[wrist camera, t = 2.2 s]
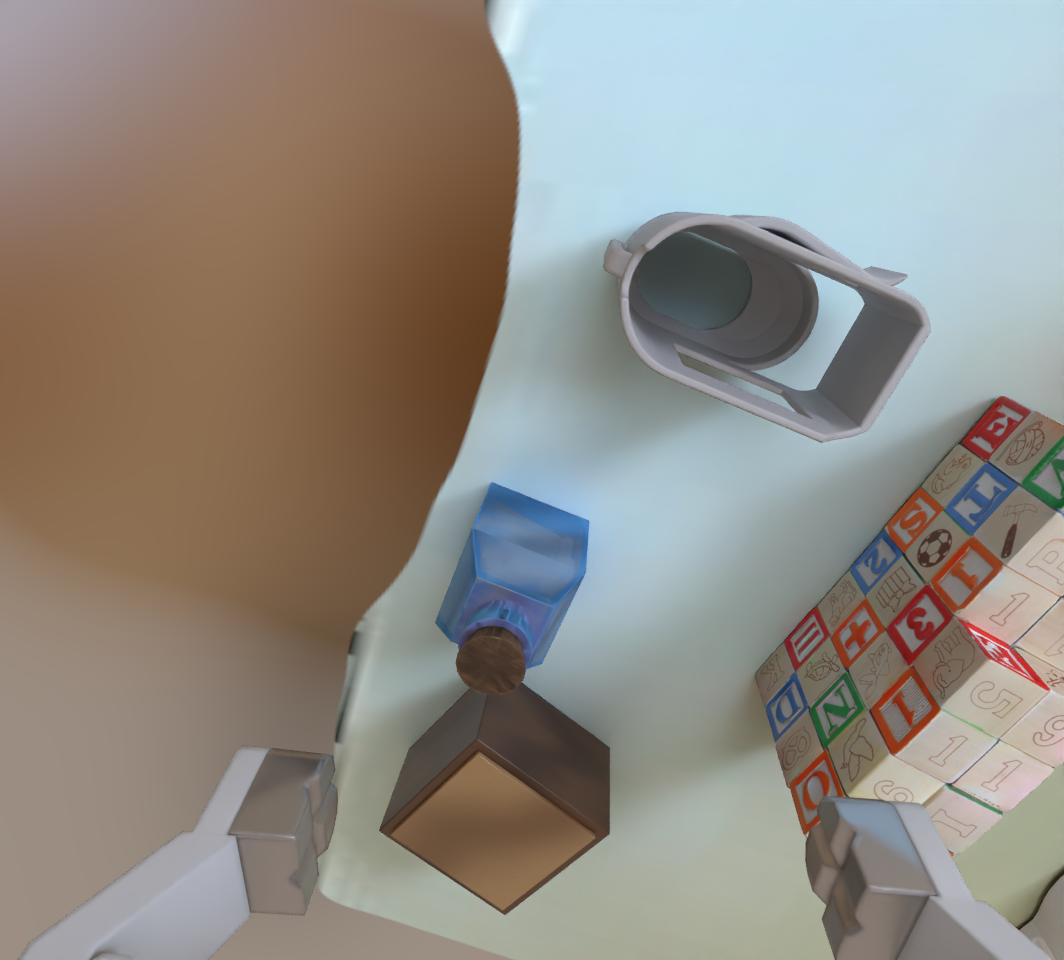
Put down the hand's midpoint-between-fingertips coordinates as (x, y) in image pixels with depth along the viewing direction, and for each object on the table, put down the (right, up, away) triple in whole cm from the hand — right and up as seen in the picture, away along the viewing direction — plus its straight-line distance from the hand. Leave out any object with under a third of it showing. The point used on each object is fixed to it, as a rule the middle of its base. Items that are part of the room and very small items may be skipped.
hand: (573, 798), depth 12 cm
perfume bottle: (-1, +2, +31) cm, 31 cm away
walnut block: (-2, -13, +36) cm, 39 cm away
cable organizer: (+10, +15, +24) cm, 30 cm away
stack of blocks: (+21, 0, +29) cm, 36 cm away
